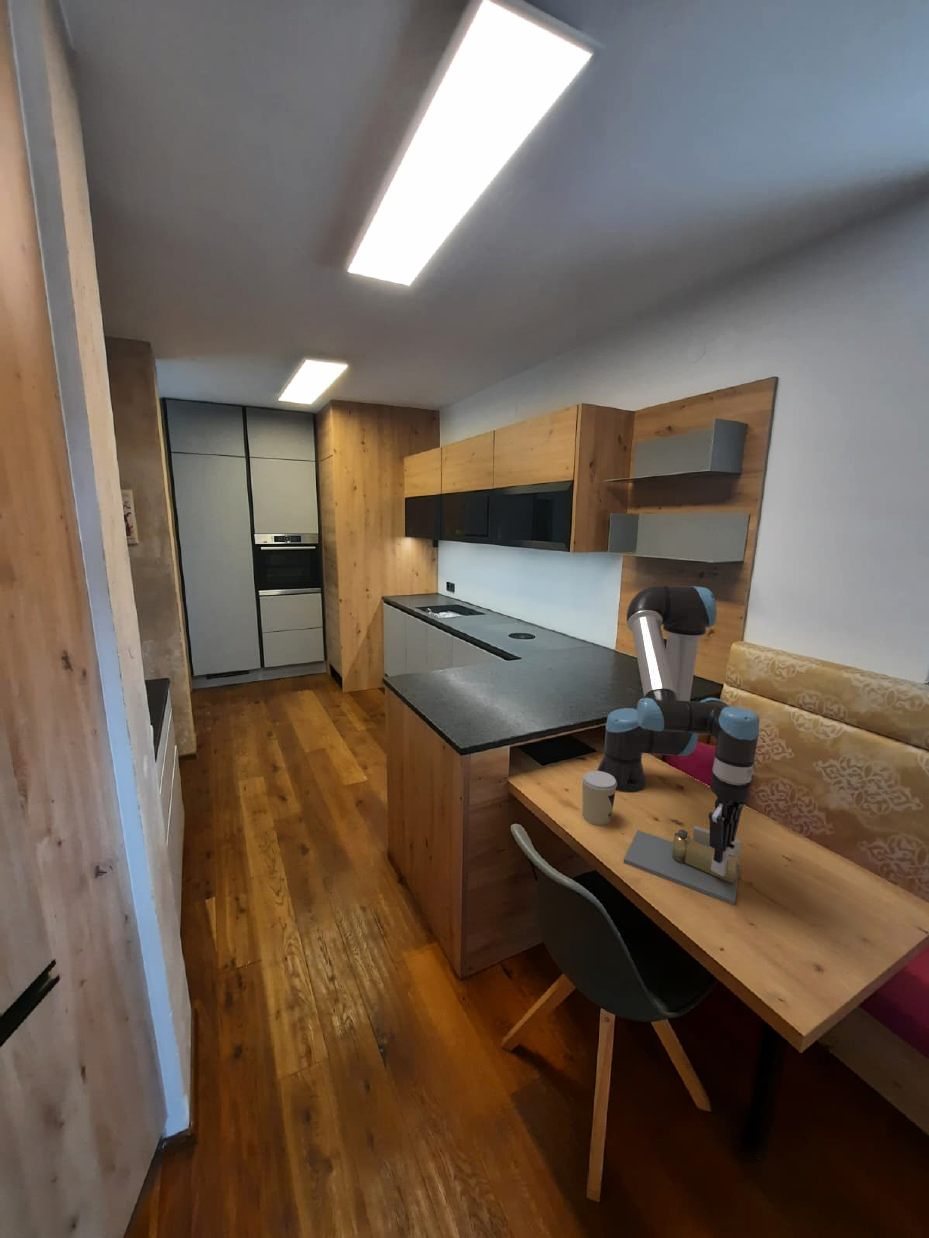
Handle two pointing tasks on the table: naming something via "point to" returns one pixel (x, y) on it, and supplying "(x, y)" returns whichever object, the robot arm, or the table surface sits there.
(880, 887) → the table surface
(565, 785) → the table surface
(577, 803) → the table surface
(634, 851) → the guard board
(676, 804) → the table surface
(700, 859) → the swing bar
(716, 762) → the robot arm
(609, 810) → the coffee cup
